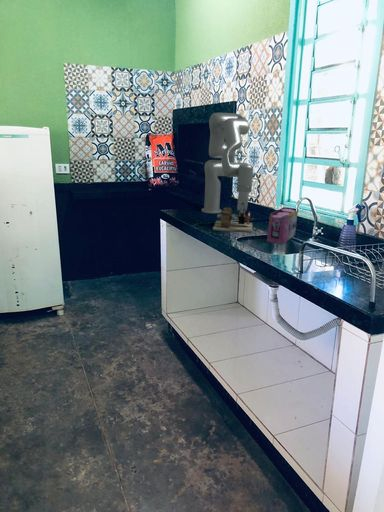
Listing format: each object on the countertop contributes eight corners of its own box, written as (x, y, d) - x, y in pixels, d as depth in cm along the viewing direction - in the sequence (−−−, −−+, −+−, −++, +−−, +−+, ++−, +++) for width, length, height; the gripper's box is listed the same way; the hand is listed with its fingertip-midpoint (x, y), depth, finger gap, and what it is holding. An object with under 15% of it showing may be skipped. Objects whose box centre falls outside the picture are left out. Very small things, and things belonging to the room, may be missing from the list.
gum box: (281, 245, 188) (284, 217, 184) (265, 242, 192) (267, 214, 188) (295, 234, 208) (298, 208, 204) (280, 232, 212) (283, 206, 208)
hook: (217, 220, 222) (218, 208, 220) (253, 223, 219) (254, 211, 217) (216, 223, 216) (216, 211, 214) (252, 225, 213) (253, 213, 211)
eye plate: (216, 222, 228) (217, 206, 226) (252, 224, 226) (253, 208, 223) (212, 229, 211) (213, 212, 209) (251, 232, 209) (253, 215, 206)
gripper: (237, 186, 220) (235, 219, 225) (236, 190, 204) (233, 226, 210) (251, 187, 218) (249, 220, 224) (251, 191, 203) (248, 227, 209)
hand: (241, 222), depth 217 cm, fingers closed on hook, 2 cm apart
